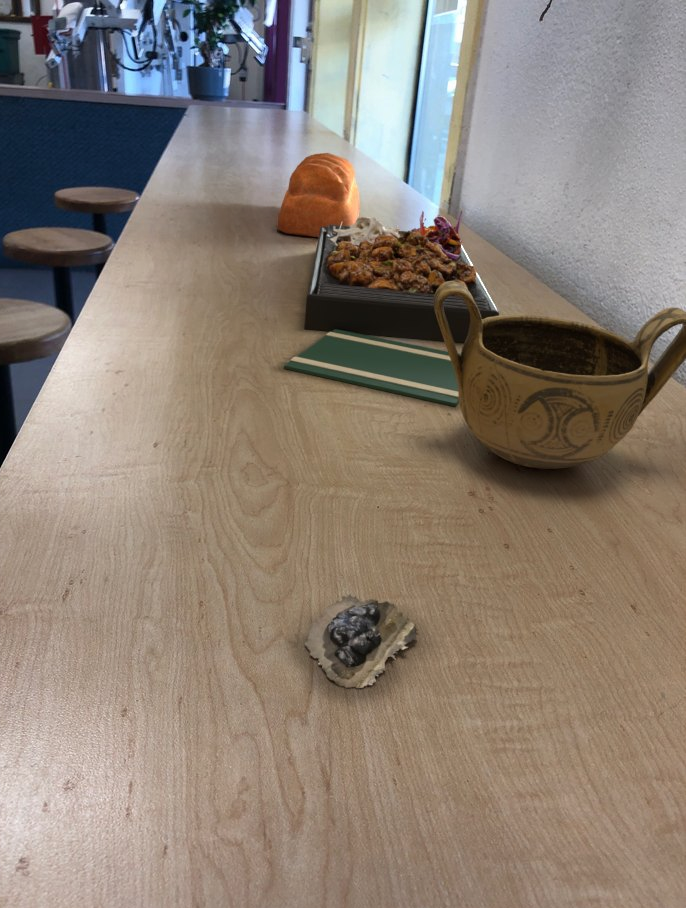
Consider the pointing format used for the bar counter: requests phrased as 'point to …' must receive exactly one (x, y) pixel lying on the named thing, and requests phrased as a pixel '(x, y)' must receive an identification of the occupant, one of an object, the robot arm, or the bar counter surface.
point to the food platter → (392, 281)
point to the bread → (319, 196)
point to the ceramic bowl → (555, 381)
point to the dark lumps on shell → (358, 639)
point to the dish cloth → (381, 366)
